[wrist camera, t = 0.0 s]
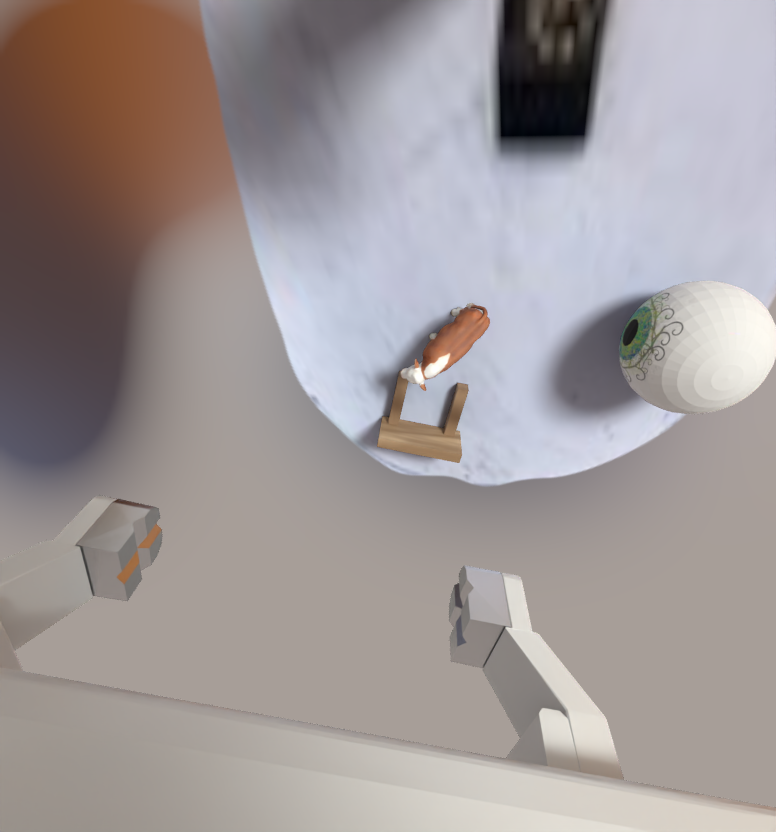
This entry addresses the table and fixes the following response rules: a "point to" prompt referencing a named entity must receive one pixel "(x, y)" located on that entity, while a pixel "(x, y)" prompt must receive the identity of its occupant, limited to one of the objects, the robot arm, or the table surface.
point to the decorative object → (698, 347)
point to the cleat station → (423, 428)
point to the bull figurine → (449, 344)
